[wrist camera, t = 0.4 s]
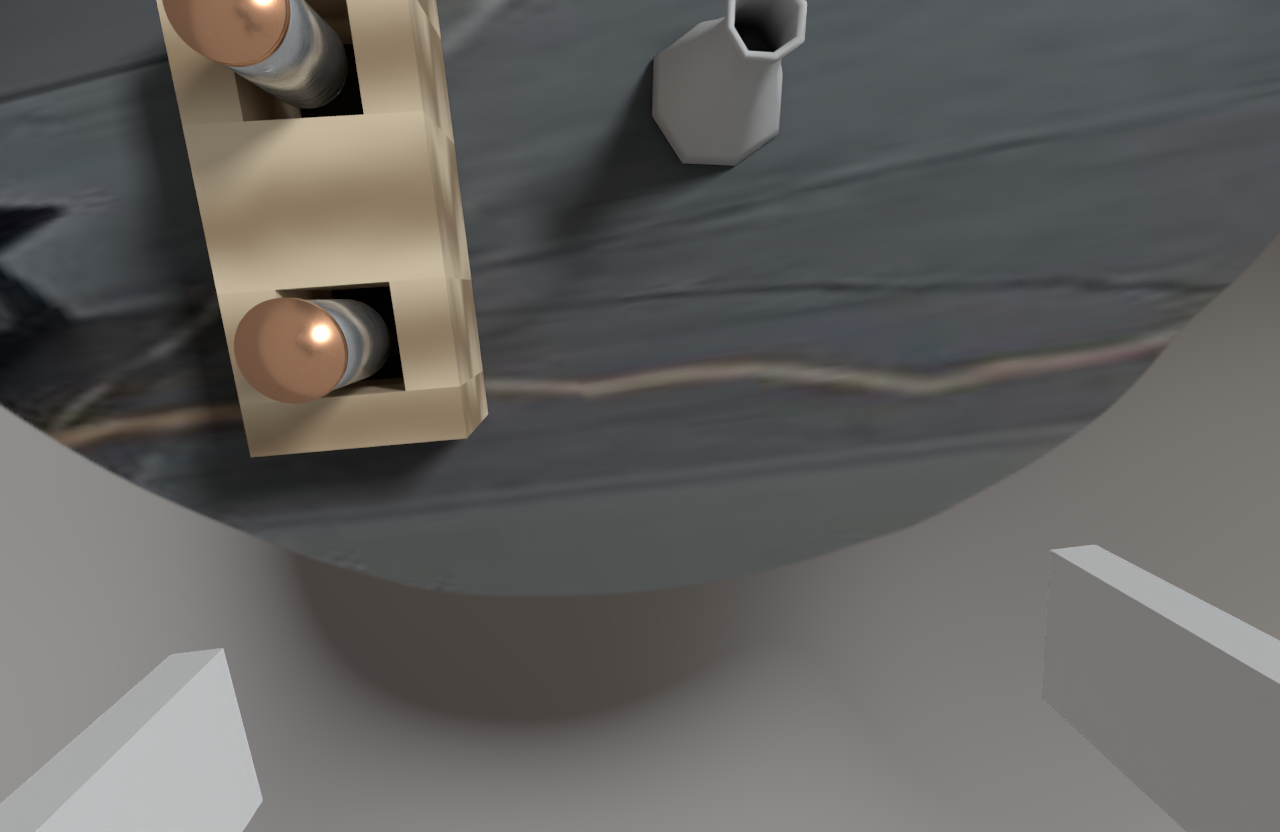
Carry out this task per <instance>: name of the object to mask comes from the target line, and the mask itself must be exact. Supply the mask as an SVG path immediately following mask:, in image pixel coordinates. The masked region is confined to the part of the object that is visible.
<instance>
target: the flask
mask: <svg viewBox="0 0 1280 832" xmlns="http://www.w3.org/2000/svg"><path fill="white" fill-rule="evenodd" d="M806 14H807V2H806V0H726V15H725V17H723V18H720V19H717V20H711V21H704V22H701V23H698V24H697V25H696V26H694V27H693V28H692V29H690V30H689V31H688V32H686V33H685V34H684V35H682V36H681V37H680V38H678V39H677V40H676V41H674V42H673V43H672V44H670V45H669V46H668V47H666V48H665V49H663V50H662V51H661V52H659V53H658V54H657V55H655V56H654V64H653V97H652V117H653V118H654V120H655V122H656V123H657V125H658V126H659V128H660V129H661V131H662V132H663V134H664V136H665V137H666V139H667V140H668V142H669V143H670V145H671V146H672V148H673V150H674V151H675V153H676V154H677V156H678V157H679V159H680V160H681V162H682V163H685V164H708V165H730V166H735V165H737V164H738V163H739V162H741V161H742V160H743V159H745V158H746V157H748V156H749V155H750V154H752V153H753V152H754V151H756V150H757V149H759V148H760V147H761V146H763V145H764V144H765V143H767V142H768V141H770V140H771V139H772V138H774V137H775V136H776V135H778V134H779V122H780V107H781V92H782V77H783V75H782V68H781V59H782V58H783V57H784V56H786V55H787V54H788V53H790V52H791V51H792V50H794V49H795V48H797V47H798V46H799V45H801V44H802V43H803V42H804V40H805V27H806Z"/></svg>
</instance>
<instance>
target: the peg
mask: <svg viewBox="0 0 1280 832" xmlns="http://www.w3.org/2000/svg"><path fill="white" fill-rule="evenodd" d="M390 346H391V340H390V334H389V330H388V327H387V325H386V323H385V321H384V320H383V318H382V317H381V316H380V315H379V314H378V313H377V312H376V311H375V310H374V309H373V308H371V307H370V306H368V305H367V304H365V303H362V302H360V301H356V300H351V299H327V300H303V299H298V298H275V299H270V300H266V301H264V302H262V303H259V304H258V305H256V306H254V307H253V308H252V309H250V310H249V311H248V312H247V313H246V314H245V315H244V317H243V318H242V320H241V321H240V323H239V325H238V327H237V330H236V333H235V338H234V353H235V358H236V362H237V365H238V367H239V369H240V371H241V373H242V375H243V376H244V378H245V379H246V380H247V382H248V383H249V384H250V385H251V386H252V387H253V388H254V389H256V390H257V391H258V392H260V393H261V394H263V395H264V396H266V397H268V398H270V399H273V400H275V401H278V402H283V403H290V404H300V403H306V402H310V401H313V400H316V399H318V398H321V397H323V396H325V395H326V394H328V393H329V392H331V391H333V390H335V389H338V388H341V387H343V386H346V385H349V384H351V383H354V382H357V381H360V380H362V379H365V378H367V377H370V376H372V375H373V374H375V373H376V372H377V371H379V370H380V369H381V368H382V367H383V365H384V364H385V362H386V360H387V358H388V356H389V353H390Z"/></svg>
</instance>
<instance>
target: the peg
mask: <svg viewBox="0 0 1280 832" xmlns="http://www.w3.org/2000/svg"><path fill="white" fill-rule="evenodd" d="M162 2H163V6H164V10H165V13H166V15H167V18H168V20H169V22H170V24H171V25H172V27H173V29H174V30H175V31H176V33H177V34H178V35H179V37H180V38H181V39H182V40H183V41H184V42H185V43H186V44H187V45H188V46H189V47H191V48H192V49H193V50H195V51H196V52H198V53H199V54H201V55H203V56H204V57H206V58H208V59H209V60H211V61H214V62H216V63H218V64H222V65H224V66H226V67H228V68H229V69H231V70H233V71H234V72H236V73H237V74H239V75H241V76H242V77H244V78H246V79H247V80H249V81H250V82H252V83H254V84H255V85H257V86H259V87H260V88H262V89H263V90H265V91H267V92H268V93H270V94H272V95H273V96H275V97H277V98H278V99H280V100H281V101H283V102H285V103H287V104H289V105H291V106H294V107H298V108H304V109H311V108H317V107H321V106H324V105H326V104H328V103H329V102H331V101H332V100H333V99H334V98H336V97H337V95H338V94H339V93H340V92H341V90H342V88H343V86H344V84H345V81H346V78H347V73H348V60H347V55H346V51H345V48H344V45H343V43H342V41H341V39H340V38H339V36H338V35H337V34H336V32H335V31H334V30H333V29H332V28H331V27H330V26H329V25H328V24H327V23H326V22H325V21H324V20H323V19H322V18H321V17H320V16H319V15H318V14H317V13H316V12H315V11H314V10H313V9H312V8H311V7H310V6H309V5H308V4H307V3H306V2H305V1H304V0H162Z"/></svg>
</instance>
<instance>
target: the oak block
mask: <svg viewBox="0 0 1280 832" xmlns="http://www.w3.org/2000/svg"><path fill="white" fill-rule="evenodd" d="M156 1H157V6H158V10H159V15H160V20H161V25H162V30H163V35H164V40H165V44H166V49H167V54H168V59H169V64H170V69H171V73H172V78H173V83H174V88H175V93H176V98H177V103H178V107H179V112H180V117H181V122H182V127H183V132H184V136H185V141H186V146H187V151H188V156H189V161H190V166H191V170H192V175H193V180H194V185H195V190H196V195H197V199H198V204H199V209H200V214H201V219H202V224H203V228H204V233H205V238H206V243H207V248H208V253H209V258H210V262H211V267H212V272H213V277H214V282H215V287H216V291H217V296H218V301H219V306H220V311H221V316H222V321H223V325H224V330H225V335H226V340H227V345H228V350H229V354H230V359H231V364H232V369H233V374H234V379H235V383H236V388H237V393H238V398H239V403H240V408H241V413H242V417H243V422H244V427H245V432H246V437H247V442H248V446H249V451H250V456H251V457H260V456H272V455H283V454H294V453H306V452H317V451H329V450H340V449H351V448H363V447H374V446H385V445H397V444H408V443H420V442H431V441H442V440H454V439H465V438H468V437H469V435H470V434H471V433H472V432H473V431H474V430H475V429H476V427H477V426H478V425H479V424H480V423H481V422H482V421H483V420H484V418H485V417H486V416H487V415H488V409H487V401H486V393H485V385H484V377H483V369H482V361H481V353H480V345H479V337H478V329H477V321H476V314H475V306H474V298H473V290H472V282H471V274H470V266H469V258H468V250H467V242H466V234H465V226H464V218H463V210H462V202H461V194H460V186H459V178H458V170H457V163H456V155H455V147H454V139H453V131H452V123H451V115H450V107H449V99H448V91H447V83H446V75H445V67H444V59H443V51H442V43H441V35H440V27H439V20H438V12H437V4H436V0H304V1H305V2H306V3H307V4H308V5H309V6H310V7H311V8H312V9H313V10H314V11H315V12H316V13H317V14H318V15H319V16H320V17H321V18H322V19H323V20H324V21H325V22H326V23H327V24H328V25H329V26H330V27H331V28H332V29H333V30H334V31H335V32H336V34H337V35H338V36H339V38H340V39H341V41H342V43H343V44H353V47H354V53H355V60H356V67H357V73H358V80H359V86H360V93H361V100H362V106H363V113H364V114H363V115H346V116H329V117H312V118H302V117H301V111H300V108H298V107H294V106H291V105H289V104H287V103H285V102H283V101H281V100H280V99H278V98H277V97H275V96H273V95H272V94H270V93H268V92H267V91H265V90H263V89H262V88H260V87H259V86H257V85H255V84H254V83H252V82H250V81H249V80H247V79H246V78H244V77H242V76H241V75H239V74H237V73H236V72H234V71H233V70H231V69H229V68H228V67H226V66H224V65H222V64H218V63H216V62H214V61H211V60H209V59H208V58H206V57H204V56H203V55H201V54H199V53H198V52H196V51H195V50H193V49H192V48H191V47H189V46H188V45H187V44H186V43H185V42H184V41H183V40H182V39H181V38H180V37H179V35H178V34H177V33H176V31H175V30H174V29H173V27H172V25H171V24H170V22H169V20H168V18H167V15H166V13H165V10H164V6H163V2H162V0H156ZM385 286H390V291H391V297H392V304H393V311H394V317H395V324H396V330H397V337H398V344H399V350H400V357H401V363H402V370H403V376H404V377H402V378H389V379H377V380H365V381H357V382H354V383H351V384H349V385H346V386H343V387H341V388H338V389H335V390H333V391H331V392H329V393H328V394H326V395H325V396H323V397H321V398H318V399H316V400H313V401H310V402H306V403H300V404H290V403H283V402H278V401H275V400H273V399H270V398H268V397H266V396H264V395H263V394H261V393H260V392H258V391H257V390H256V389H254V388H253V387H252V386H251V385H250V384H249V383H248V382H247V380H246V379H245V378H244V376H243V375H242V373H241V371H240V369H239V367H238V365H237V362H236V358H235V353H234V338H235V333H236V330H237V327H238V325H239V323H240V321H241V320H242V318H243V317H244V315H245V314H246V313H247V312H248V311H249V310H250V309H252V308H253V307H254V306H256V305H258V304H259V303H262V302H264V301H266V300H270V299H275V298H298V299H303V300H327V299H332V293H331V290H345V289H358V288H372V287H385Z"/></svg>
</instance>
